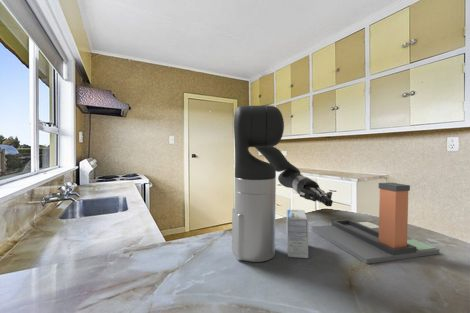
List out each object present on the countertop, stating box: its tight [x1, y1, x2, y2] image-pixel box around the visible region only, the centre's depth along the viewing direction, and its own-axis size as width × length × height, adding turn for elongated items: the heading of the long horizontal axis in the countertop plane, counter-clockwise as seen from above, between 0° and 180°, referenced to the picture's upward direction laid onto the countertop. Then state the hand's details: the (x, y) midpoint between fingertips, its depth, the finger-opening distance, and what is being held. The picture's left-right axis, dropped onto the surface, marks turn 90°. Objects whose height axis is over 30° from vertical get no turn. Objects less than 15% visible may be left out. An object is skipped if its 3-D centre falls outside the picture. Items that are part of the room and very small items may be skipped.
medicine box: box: [286, 209, 309, 259], centre depth 52 cm, size 8×4×9 cm, turn 168°
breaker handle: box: [378, 182, 411, 248], centre depth 51 cm, size 4×4×14 cm
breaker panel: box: [310, 219, 441, 264], centre depth 58 cm, size 20×20×2 cm
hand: (329, 203), depth 71 cm, fingers closed
